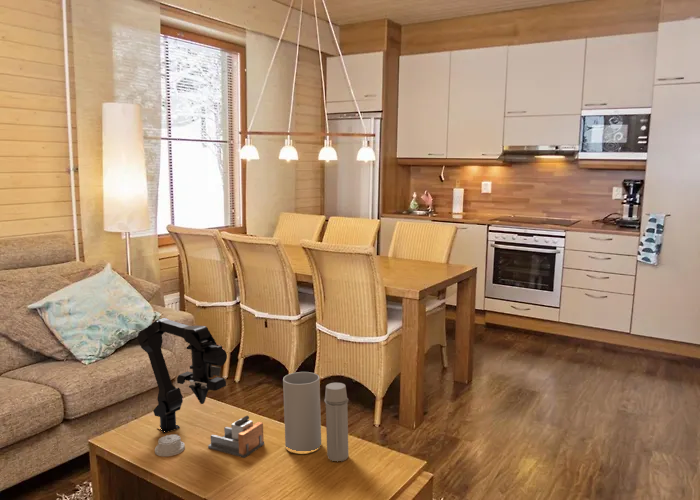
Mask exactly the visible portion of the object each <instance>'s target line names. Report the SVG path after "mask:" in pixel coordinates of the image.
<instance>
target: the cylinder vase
mask: <svg viewBox="0 0 700 500" xmlns="http://www.w3.org/2000/svg"><path fill="white" fill-rule="evenodd" d="M320 381H321V380H320V376H319V374H317V373H315V372H309V371H299V372H297V371H296V372H292V373H289V374H286V375H285V376H283V379H282V386H283V388H282V389H283V415H284V416H283V417H284V439H285V440H284V441H285V443H284V445H285V446H286V447H288V448H290V449H292V450H296V451H311V450H315V449H317V448H319V447H320V445H321V446H322V423H321V422H322V419H321V418H322V417H321V386H320V384H321V383H320ZM286 447H285V448H286ZM320 448H321V447H320ZM320 448H319V449H320Z"/></svg>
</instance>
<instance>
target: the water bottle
mask: <svg viewBox="0 0 700 500" xmlns="http://www.w3.org/2000/svg"><path fill="white" fill-rule="evenodd" d="M324 403H325V421H326V422H325V424H326V427H325V428H326V456H328V457H327V458H328V460H329V459H330V460H329V461H331V460H332V461H331V462H333V461H337V462H336V463H339V462H338V461H341V462H344V461H346V460H347V459H348V457H349V426H348V425H349V422H348V421H349V418H348V417H349V414H348V413H349V412H348V403H349V398H348V394H347V387H346V384H345V383H343V382H330V383H328V384H326V385H325V394H324Z"/></svg>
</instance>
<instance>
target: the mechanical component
mask: <svg viewBox="0 0 700 500" xmlns="http://www.w3.org/2000/svg"><path fill="white" fill-rule="evenodd" d="M185 449H186V446H185V442H183V441H181V436H180V435H178V434H166V435H164V436H161V437H159V438H158V440H157V445H156V446H155V447H154V454H155V455H156V456H159V457H172V456H175V455H178V454H181V453H182V452H184V450H185Z"/></svg>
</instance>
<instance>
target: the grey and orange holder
mask: <svg viewBox="0 0 700 500" xmlns="http://www.w3.org/2000/svg"><path fill="white" fill-rule="evenodd" d="M223 431H224V435H223V436H219V435H217V434H211V435H210V444H208V445H207V447H208V449H210V450H213V451H218V452H221V453H225V454H229V455H233V456H236V457H240V458H244V459H245V458H246V457H248V456H250V455H251V454H252V453H254V452H255V451H257V450H258V449H260V448H261V447H263V446H264V445H265V441H264V422H262V421H257V422H256V423H253V425H252V426H250V427H249V428H247V429H246V430H244V431H242V432H241V433H239V434H238V440H239V441H236V440H232V427H231V426H225V427H224V430H223Z"/></svg>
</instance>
